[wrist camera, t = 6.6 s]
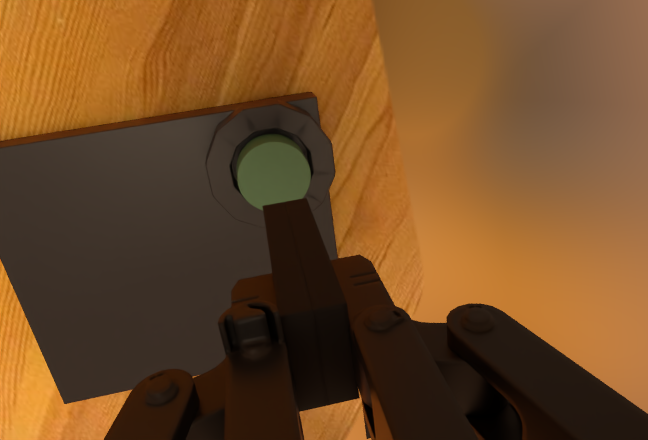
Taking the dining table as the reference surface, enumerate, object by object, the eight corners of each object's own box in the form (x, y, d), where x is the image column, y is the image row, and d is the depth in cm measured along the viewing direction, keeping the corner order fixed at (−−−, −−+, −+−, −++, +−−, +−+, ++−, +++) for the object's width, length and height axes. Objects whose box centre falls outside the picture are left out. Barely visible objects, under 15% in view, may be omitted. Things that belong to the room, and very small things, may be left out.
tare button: (300, 128, 26) (305, 136, 24) (310, 193, 27) (315, 205, 25) (230, 139, 25) (230, 148, 24) (243, 205, 27) (244, 218, 25)
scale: (315, 86, 28) (326, 96, 25) (346, 325, 35) (358, 357, 31) (-30, 140, 26) (-66, 159, 23) (72, 383, 33) (56, 424, 29)
